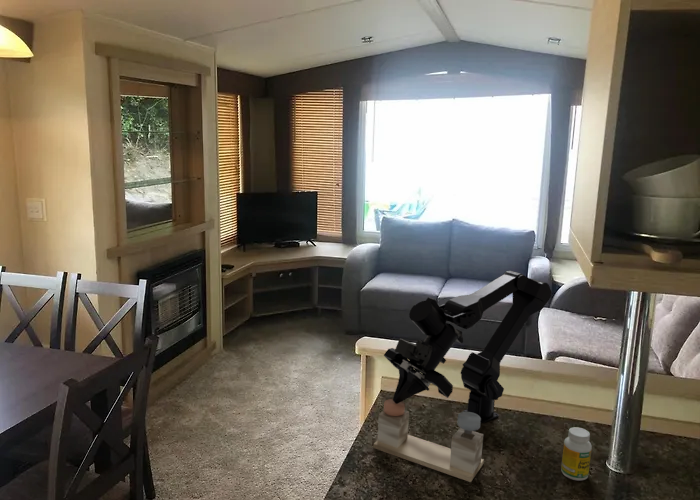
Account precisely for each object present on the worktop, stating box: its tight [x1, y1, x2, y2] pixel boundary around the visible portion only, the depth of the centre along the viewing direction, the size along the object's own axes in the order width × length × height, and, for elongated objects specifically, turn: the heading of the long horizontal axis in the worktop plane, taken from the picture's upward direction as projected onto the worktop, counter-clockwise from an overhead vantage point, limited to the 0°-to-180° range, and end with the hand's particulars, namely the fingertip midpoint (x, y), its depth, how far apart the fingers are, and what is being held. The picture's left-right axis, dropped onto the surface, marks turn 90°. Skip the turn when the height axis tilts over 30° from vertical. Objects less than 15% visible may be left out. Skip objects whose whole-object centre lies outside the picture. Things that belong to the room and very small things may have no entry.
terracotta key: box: [383, 398, 406, 416], centre depth 126 cm, size 5×5×3 cm
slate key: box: [456, 411, 481, 434], centre depth 117 cm, size 5×5×3 cm
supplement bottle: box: [560, 426, 593, 482], centre depth 117 cm, size 5×5×10 cm
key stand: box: [372, 409, 485, 483], centre depth 123 cm, size 8×22×8 cm, turn 59°
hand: (394, 402), depth 126 cm, fingers closed, pressing on terracotta key
